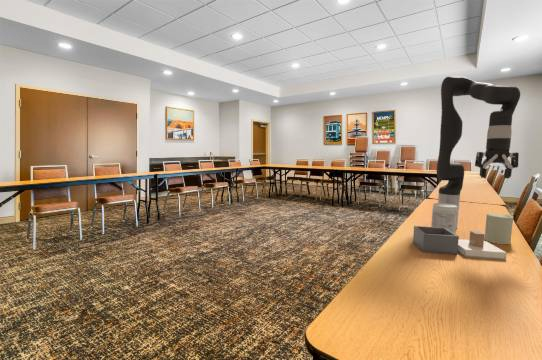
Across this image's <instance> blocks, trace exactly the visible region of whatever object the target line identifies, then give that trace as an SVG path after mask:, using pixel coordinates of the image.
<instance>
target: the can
mask: <svg viewBox="0 0 542 360" xmlns="http://www.w3.org/2000/svg"><path fill="white" fill-rule="evenodd" d="M513 222H514V216H513V215H510V214H509V215H508V214H504V213H499V212H498V213H497V212H491V213H490V212H489V213H486V219H485V229H484V241H485V240H486V241H487V242H488V241H489V242H488V243H491V242H492V243H491V244H495V243H497V245H502V244H509V245H511V244H512V233H513V232H512V231H513ZM510 243H511V244H510Z"/></svg>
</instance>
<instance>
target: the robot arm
mask: <svg viewBox="0 0 542 360" xmlns="http://www.w3.org/2000/svg"><path fill="white" fill-rule="evenodd" d="M461 96H471V98H473V99H475V100H479V101H482V102H484V103H486V104H488V105H498V106H499V105H502V106H501V108H500V109H499V110H494V111H492V112H490V115H489V119H488V130H487V133H486V134H487V135H486V145H485V152H483V151H477V152H476V155H475V161H474V166H475V167H477V168H479V176H480V178H482V179H483V178H484V179H485V178H486V177H487V167H488V166H489V165H491V164H502V165H503V166H504V168H505V169H504V174H503V175H504V177H503V178H504V179H510V178H511V177H512V171H513V169H515V168H516V169H517V168H518V167H519V158H520V157H519V152H515V151H514V152H513V151H512V152H510V149H511V141H512V132H513V131H512V123H513V115H514V112H515V110H516V107H517V106H518V104H519V101H520V97H521V91H520V88H519V87H517V86H516V85H515V86H514V85H496V84H493V83H489V82H479V81H478V82H477V81H475V80H473V79H470V78H468V77H466V76H446V77H445V78H444V79H443V80H442V82H441V87H440V98H441V100H440V101H441V103H440V104H441V118H440V132H439V133H440V134H439V137H440V139H439V149H438V150H439V151H438V157H437V163H436V176H437V178H438V180H440V181H448V182H447V184H445V185H443V186H440V187H439V189H438V195H437V197H438V199H437V203H446V204H453V205H456V206H457V219H456V229H458V222H459V210H460V201H461V191H462V189H463V186H464V179H465V178H464V177H465V167H464V164H462V163H461V162H453V161H451V157H452V152H453V151H454V149H455V147H456V146H457V144H458V143H459V141H460V140H461V138H462V135H463V120H462V118H461V116H460V114H459V112H458V111H457V109H456V107H455V104H454V97H461ZM509 157H510V160H509V159H508V158H509ZM483 158H485V159H484V160H483Z"/></svg>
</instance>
